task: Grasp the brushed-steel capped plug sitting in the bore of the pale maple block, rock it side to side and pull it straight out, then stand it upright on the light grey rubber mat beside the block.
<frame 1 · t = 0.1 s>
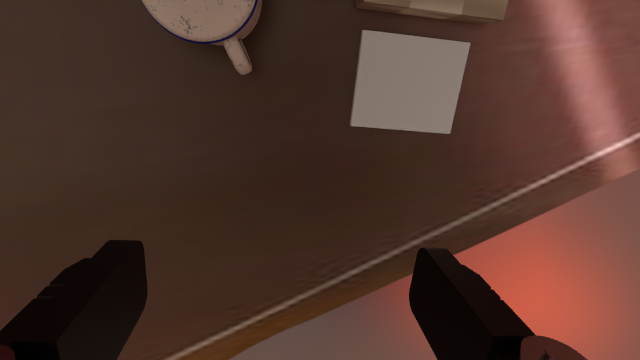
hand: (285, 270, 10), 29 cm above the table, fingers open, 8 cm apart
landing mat: (407, 84, 38), on the table
teacup with lid: (225, 13, 33), on the table
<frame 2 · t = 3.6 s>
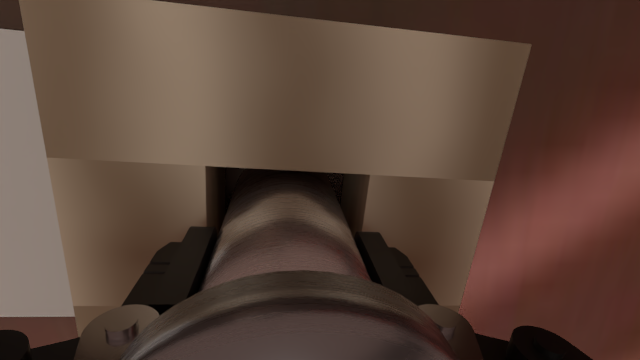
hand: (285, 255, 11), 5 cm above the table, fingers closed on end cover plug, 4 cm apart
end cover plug: (286, 270, 10), in the bore housing, touching gripper
bore housing: (284, 198, 15), on the table
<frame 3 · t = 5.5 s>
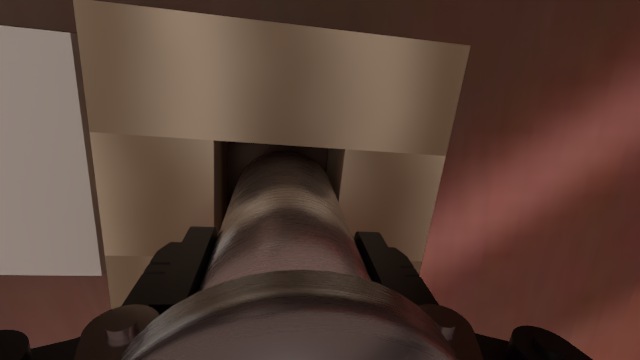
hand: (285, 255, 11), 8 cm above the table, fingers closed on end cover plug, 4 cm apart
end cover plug: (286, 269, 10), point 8 cm above the table, touching gripper
bore housing: (277, 175, 18), on the table
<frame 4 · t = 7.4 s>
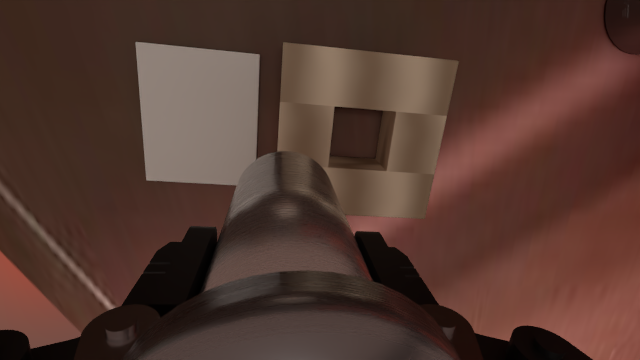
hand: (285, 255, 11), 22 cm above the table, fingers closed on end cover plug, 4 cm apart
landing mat: (202, 119, 30), on the table
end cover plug: (287, 270, 10), point 23 cm above the table, touching gripper
bore housing: (353, 130, 32), on the table
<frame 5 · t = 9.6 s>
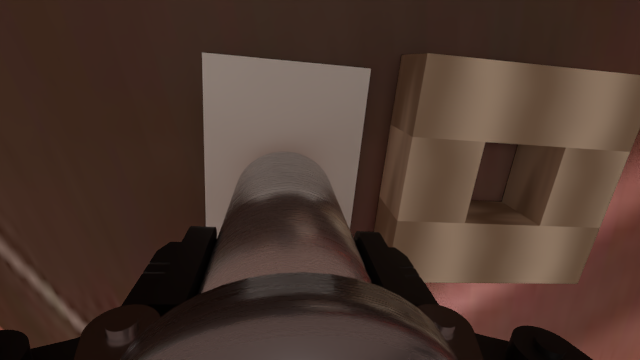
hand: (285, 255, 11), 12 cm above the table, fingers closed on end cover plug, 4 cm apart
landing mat: (283, 155, 22), on the table
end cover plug: (286, 271, 10), point 13 cm above the table, touching gripper
bore housing: (478, 167, 24), on the table
when the fingers open (7 cm above the table, at t = 11.1 s): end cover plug drops 1 cm, resting on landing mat.
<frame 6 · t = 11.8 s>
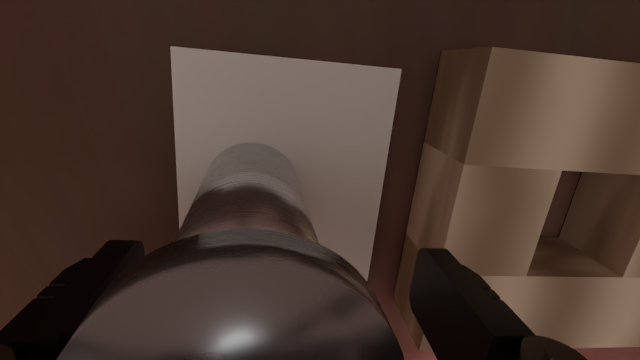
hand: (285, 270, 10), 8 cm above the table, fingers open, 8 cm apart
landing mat: (283, 183, 17), on the table
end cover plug: (249, 247, 11), on the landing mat, point 6 cm above the table
bore housing: (532, 195, 19), on the table
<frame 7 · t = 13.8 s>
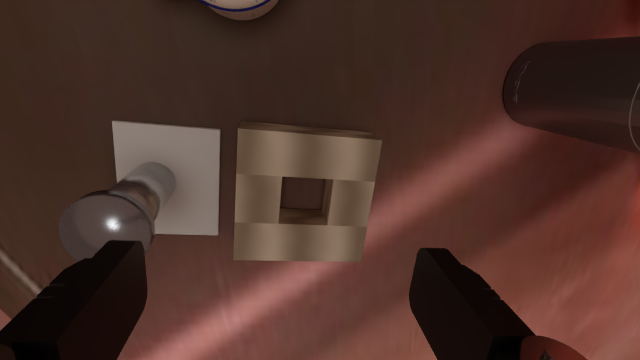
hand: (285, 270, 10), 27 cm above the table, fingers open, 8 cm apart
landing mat: (170, 180, 35), on the table
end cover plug: (133, 203, 29), on the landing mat, point 6 cm above the table
bore housing: (301, 187, 38), on the table
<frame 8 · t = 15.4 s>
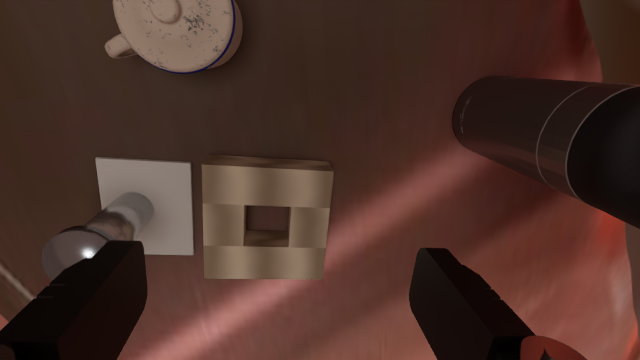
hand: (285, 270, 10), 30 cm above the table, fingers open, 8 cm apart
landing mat: (149, 207, 40), on the table
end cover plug: (111, 232, 34), on the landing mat, point 6 cm above the table
bore housing: (268, 212, 42), on the table
teacup with lid: (187, 30, 34), on the table
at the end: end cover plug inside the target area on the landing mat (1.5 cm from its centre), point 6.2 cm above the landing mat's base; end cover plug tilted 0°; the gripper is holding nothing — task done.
